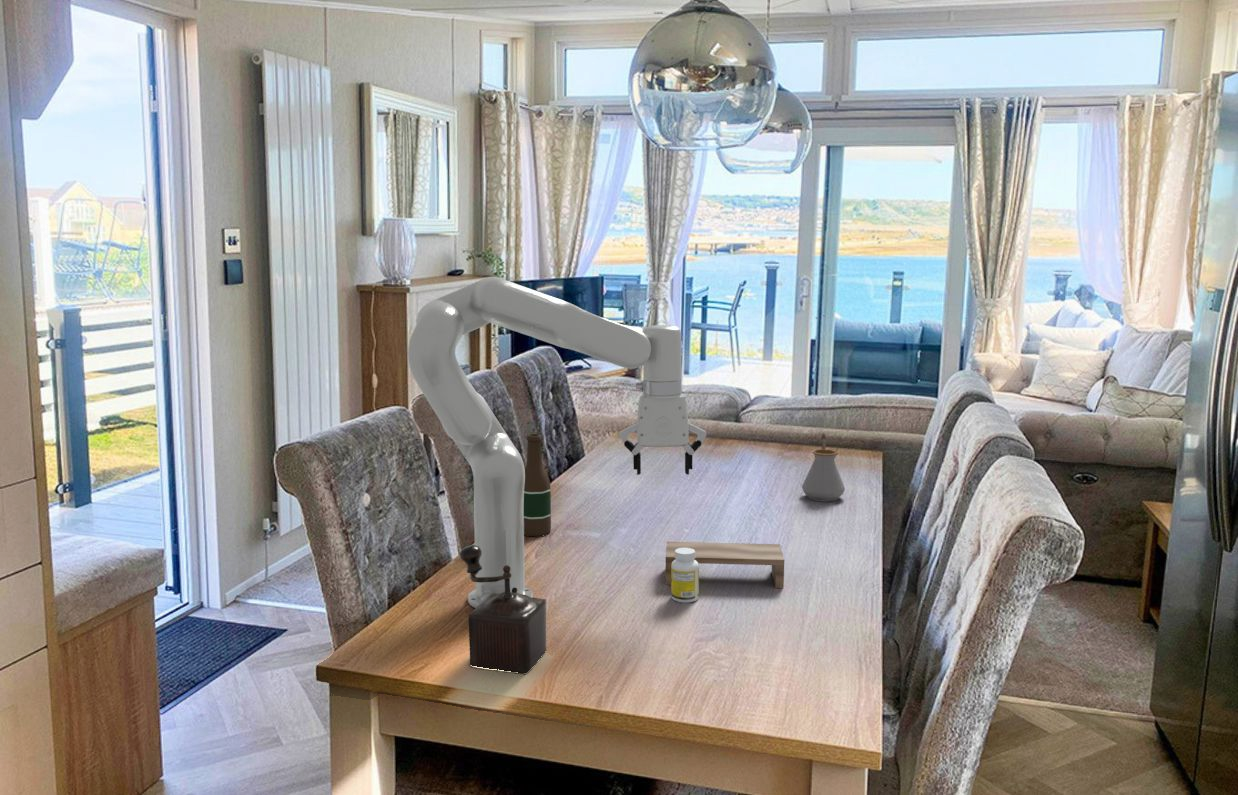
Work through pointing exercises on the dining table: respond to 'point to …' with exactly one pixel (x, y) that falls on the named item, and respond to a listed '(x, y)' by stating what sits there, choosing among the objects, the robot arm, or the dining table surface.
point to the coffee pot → (823, 476)
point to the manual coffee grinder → (504, 623)
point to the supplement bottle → (685, 576)
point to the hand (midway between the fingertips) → (662, 472)
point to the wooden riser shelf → (731, 556)
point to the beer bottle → (536, 491)
